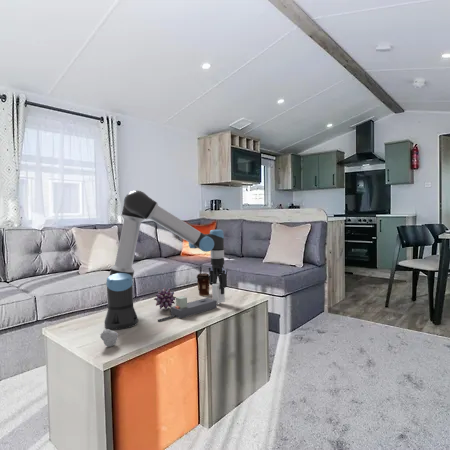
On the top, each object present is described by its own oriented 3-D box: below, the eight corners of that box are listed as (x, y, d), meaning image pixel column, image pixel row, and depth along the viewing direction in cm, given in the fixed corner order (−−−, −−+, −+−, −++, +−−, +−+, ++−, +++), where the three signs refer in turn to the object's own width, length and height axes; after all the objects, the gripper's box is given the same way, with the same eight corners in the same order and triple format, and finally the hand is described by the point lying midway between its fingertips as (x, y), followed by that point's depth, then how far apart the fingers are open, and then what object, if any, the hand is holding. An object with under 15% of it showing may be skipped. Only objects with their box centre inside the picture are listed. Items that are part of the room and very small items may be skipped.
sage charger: (180, 308, 170) (180, 299, 169) (176, 307, 173) (175, 297, 172) (187, 307, 172) (186, 297, 172) (182, 305, 175) (182, 296, 175)
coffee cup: (194, 296, 208) (194, 275, 207) (199, 292, 216) (198, 272, 215) (208, 296, 206) (208, 275, 205) (212, 293, 214) (211, 273, 213)
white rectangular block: (217, 305, 186) (217, 285, 186) (212, 304, 190) (211, 284, 189) (224, 303, 190) (224, 283, 189) (219, 302, 193) (218, 282, 192)
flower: (152, 313, 176) (151, 290, 176) (156, 306, 188) (155, 285, 188) (174, 312, 177) (173, 290, 176) (177, 305, 189) (176, 284, 188)
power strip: (162, 323, 160) (162, 313, 160) (153, 319, 166) (153, 310, 166) (216, 307, 183) (216, 299, 183) (207, 304, 189) (207, 296, 189)
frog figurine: (98, 346, 136) (97, 329, 136) (116, 341, 140) (115, 325, 140) (102, 351, 131) (102, 333, 131) (120, 346, 135) (120, 329, 135)
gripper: (233, 258, 184) (234, 300, 185) (212, 255, 197) (213, 294, 198) (223, 260, 179) (224, 303, 180) (202, 256, 192) (203, 297, 193)
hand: (218, 298), depth 189 cm, fingers closed on white rectangular block, 5 cm apart
